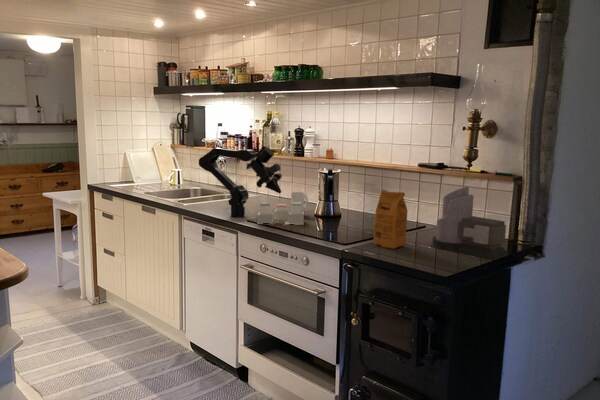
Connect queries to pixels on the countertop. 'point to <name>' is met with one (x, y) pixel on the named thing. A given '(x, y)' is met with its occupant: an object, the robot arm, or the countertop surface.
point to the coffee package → (390, 220)
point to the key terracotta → (281, 207)
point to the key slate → (265, 208)
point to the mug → (299, 199)
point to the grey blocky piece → (468, 228)
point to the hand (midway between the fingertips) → (280, 192)
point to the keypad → (281, 217)
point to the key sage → (296, 207)
